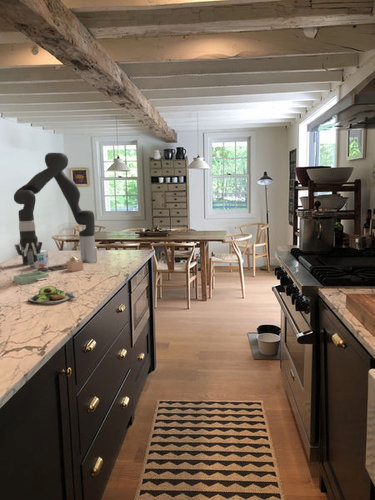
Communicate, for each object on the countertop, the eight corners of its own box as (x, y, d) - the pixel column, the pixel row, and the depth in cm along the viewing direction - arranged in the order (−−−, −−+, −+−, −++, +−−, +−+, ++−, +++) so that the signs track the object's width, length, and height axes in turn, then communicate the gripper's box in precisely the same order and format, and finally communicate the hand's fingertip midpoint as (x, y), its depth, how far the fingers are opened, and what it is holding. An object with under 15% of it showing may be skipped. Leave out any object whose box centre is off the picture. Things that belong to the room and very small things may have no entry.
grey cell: (32, 263, 203) (31, 248, 201) (35, 264, 200) (34, 248, 199) (24, 264, 200) (23, 249, 199) (28, 265, 197) (26, 249, 196)
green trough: (40, 276, 210) (40, 271, 209) (48, 279, 203) (48, 273, 202) (14, 281, 200) (13, 275, 199) (22, 284, 193) (21, 278, 192)
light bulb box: (39, 271, 225) (38, 252, 223) (29, 270, 226) (27, 252, 224) (49, 267, 235) (48, 249, 233) (39, 267, 236) (38, 249, 235)
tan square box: (77, 270, 223) (76, 259, 222) (83, 272, 219) (82, 260, 218) (67, 272, 219) (66, 260, 218) (72, 274, 214) (72, 262, 213)
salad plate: (86, 296, 170) (86, 286, 170) (59, 307, 154) (58, 296, 153) (52, 292, 178) (51, 282, 177) (22, 303, 161) (21, 292, 161)
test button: (43, 265, 218) (43, 262, 218) (46, 266, 216) (45, 263, 216) (38, 266, 216) (37, 263, 216) (40, 267, 214) (40, 264, 213)
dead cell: (78, 269, 221) (76, 255, 220) (79, 271, 218) (77, 257, 216) (70, 270, 219) (69, 257, 218) (72, 272, 216) (70, 258, 214)
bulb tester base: (61, 268, 230) (61, 263, 229) (70, 270, 223) (69, 265, 222) (31, 273, 217) (31, 268, 217) (39, 276, 210) (39, 270, 210)
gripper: (16, 231, 189) (19, 265, 192) (44, 228, 199) (46, 261, 202) (10, 230, 195) (13, 263, 197) (37, 228, 205) (40, 259, 207)
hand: (30, 262), depth 200 cm, fingers closed on grey cell, 4 cm apart
